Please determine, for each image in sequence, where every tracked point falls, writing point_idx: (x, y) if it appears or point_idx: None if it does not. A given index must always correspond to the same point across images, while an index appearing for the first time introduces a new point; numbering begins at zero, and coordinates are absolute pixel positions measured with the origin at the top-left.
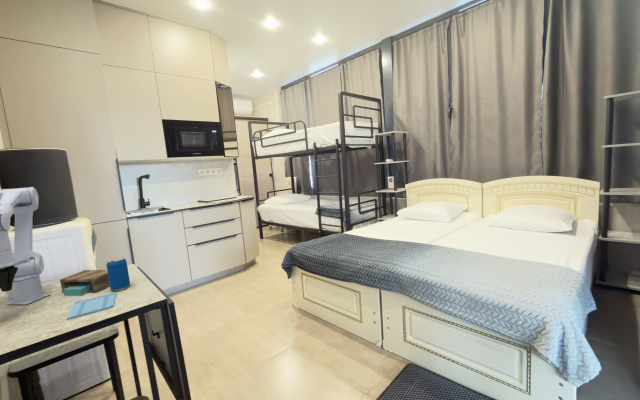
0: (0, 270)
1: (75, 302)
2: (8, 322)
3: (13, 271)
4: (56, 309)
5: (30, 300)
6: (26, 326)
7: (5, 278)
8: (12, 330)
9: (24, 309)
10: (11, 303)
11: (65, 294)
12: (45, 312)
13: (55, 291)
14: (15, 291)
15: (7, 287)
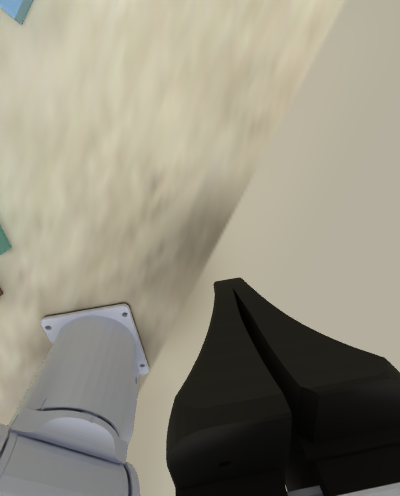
0: (348, 469)
1: (10, 13)
2: (237, 189)
3: (228, 384)
4: (102, 86)
5: (107, 318)
6: (257, 24)
7: (286, 333)
8: (290, 60)
9: (151, 264)
10: (143, 356)
11: (2, 240)
12: (140, 115)
13: (16, 336)
14: (127, 382)
15: (245, 286)
